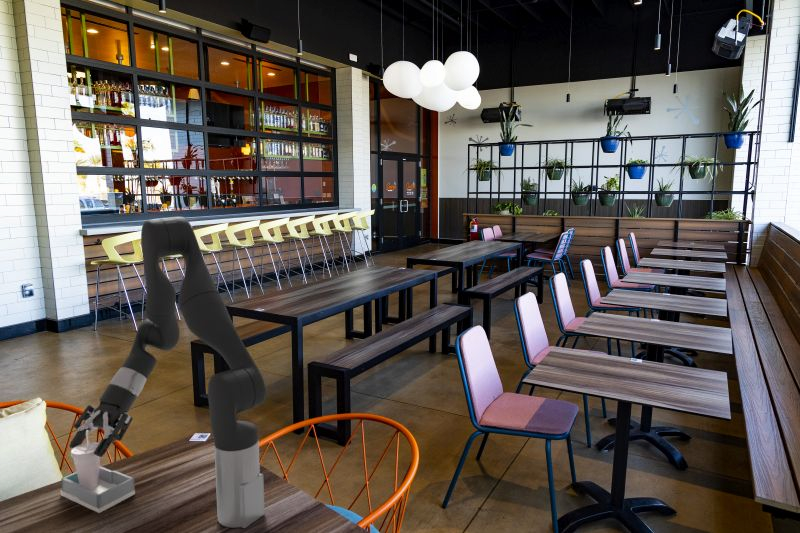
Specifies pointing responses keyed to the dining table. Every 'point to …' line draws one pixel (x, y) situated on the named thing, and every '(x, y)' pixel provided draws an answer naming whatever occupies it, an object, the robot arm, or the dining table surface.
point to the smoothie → (86, 463)
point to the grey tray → (99, 490)
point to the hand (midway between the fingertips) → (85, 452)
